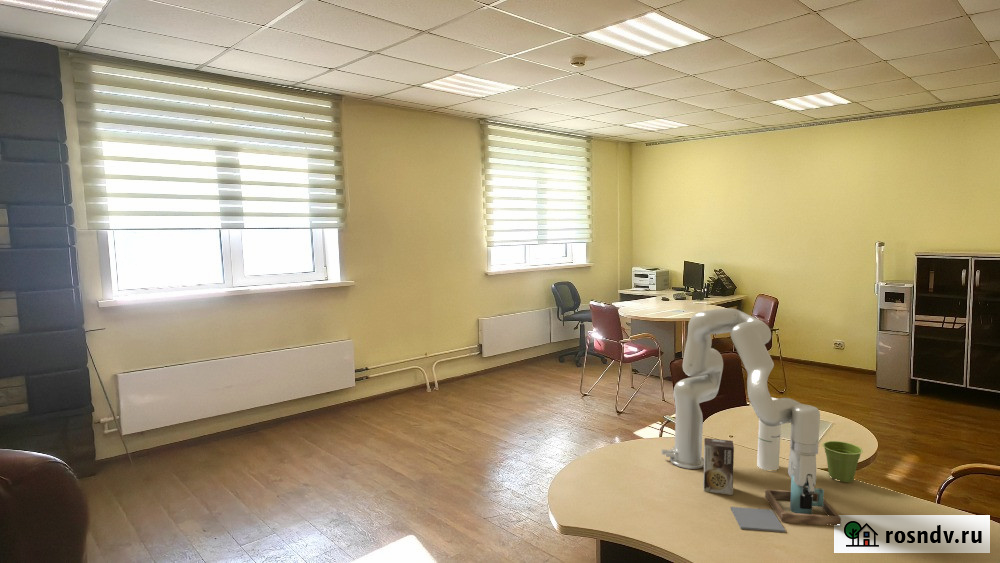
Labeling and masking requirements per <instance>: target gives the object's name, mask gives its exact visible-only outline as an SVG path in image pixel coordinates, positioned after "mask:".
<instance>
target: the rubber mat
mask: <svg viewBox="0 0 1000 563" xmlns="http://www.w3.org/2000/svg"><path fill="white" fill-rule="evenodd" d="M730 510H731V513H732V514H733V516H734V518H735V520H736V522H737V525H738V526H739V528H740V529H741V530H747V531H748V530H749V531H762V532H775V533H776V532H777V533H786V529H785V528H784V526H783V524H782V522H780V521H781V520H780V519H779V517H778V516H776V515H777V514H776V513H775V511H774V510H773V509H768V508H767V509H764V508H756V507H755V508H751V507H738V506H730Z"/></svg>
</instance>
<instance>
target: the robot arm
mask: <svg viewBox="0 0 1000 563" xmlns="http://www.w3.org/2000/svg"><path fill="white" fill-rule="evenodd" d="M727 333H730V334H729V335H730V338H731V341H732V343H733V345H734V347H735V350H736V351H737V354H738V355H739V358H740V360H741V361H742V364H743V367H744V369H745V370H746V372H747V380H746V387H747V397H748V400H749V402H750V405H751V407H752V409H753V411H754V414H755V416H757V418H758V421H759V420H760V421H761V422H762V423H763V424H765V425H767V426H770V427H774V426H778V425H781V426H782V425H784V424H789V423H791V425H790V440H789V441H790V442H789V443H790V444H789V457H788V467H787V474H788V476H789V478H791V476H792V475H793V476H794V482H795V483H796V485H797V486H799V487H801V494H802V495H800V508H801V509H811V508H812V509H813V506H812V497H813V493H814V492H815V490H814V488H816V485H817V484H816V482H817V455H819V445H820V444H819V442H820V440H819V438H820V423H821V412H820V410H819V408H817V407H816V406H813V405H809V404H805V403H801V402H799V401H797V400H795V399H793V398H789V397H781V398H777V399H776V400H772V398H773V397H772V396H771V393H770V391H769V387H768V379H769V376H770V373H771V372H772V371H773V369H774V367H775V366H774V365H775V363H774V361H773V359H772V357H771V355H770V353H769V351H768V349H767V347H766V344H768V343H769V342H770V341H771V339H772V332H771V329H770V326H769V325H768V324H767V323H766V322H764V321H763V320H761V319H759V318H757V317H755V316H753V315H750V314H748V313H746V312H744V311H741V310H740V309H737V308H733V307H732V308H731V307H727V308H716V309H708V310H703V311H699V312H696V313H695V314H693V315H692V316H691V317H690V319H689V322H688V324H687V336H686V342H685V347H684V353H683V357H682V358H683V360H682V365H681V367H682V371H683V372H684V373H685V375H686V376H688V377H687V378H683V379H680V380H679V381H677V382H676V383H675V385H674V387H673V393H672V394H673V399H674V406H675V417H674V418H675V419H674V420H675V422H674V425H675V427H674V429H675V430H674V432H675V433H674V446H672V448H670V449H665V448H664V449H662V448H661V455H662V456H663V455H664V456H665V457H667V458H668V457H669V461H670V462H671V464H673V465H674V466H677V467H680V468H683V469H689V470H690V469H691V470H696V469H703V468H704V456H702V454H703V452H702V450H703V430H704V429H703V425H704V424H703V421H704V418H703V412H702V409H701V406H700V404H701V403H704V402H709V401H711V400H713V399H715V398H716V397H717V395H718V393H719V389H720V385H721V380H722V374H723V370H724V359H723V356H722V354H721V353H720V352H719V351H718V350H717V349H715V348H713V347H712V345H713V344H712V342H713V341H712V335H719V334H727ZM771 397H772V398H771ZM805 483H807V485H808V486H805V485H804V484H805ZM804 488H808V490H806V491H804Z"/></svg>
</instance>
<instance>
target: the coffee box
mask: <svg viewBox="0 0 1000 563" xmlns="http://www.w3.org/2000/svg"><path fill="white" fill-rule="evenodd" d="M703 442H704V444H703V446H704V447H703V450H704V451H703V458H704V467H703V483H702V485H703V492H705V493H706V492H707V493H714V494H723V495H730V496H731V495H732V496H733V495H734V466H735V465H734V464H735V463H734V461H735V460H734V456H735V453H734V452H735V446H734V441H733V440H727V439H719V438H710V437H709V438H707V437H706V438H704V441H703Z"/></svg>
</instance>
